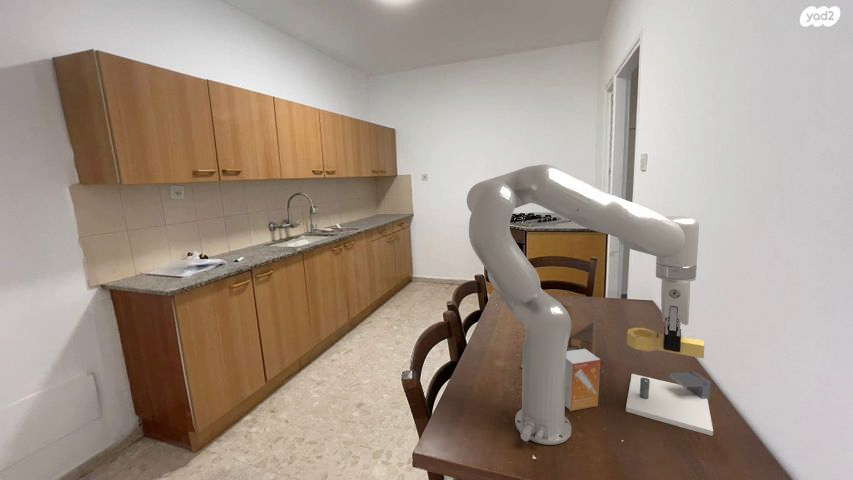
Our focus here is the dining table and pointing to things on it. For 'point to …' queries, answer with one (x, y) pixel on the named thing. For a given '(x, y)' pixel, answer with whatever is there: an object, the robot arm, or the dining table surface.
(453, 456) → the dining table surface
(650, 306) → the dining table surface
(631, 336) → the link
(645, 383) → the pin
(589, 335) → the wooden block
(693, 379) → the block
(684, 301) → the robot arm
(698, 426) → the board
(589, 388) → the small box
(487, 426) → the dining table surface
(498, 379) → the dining table surface
